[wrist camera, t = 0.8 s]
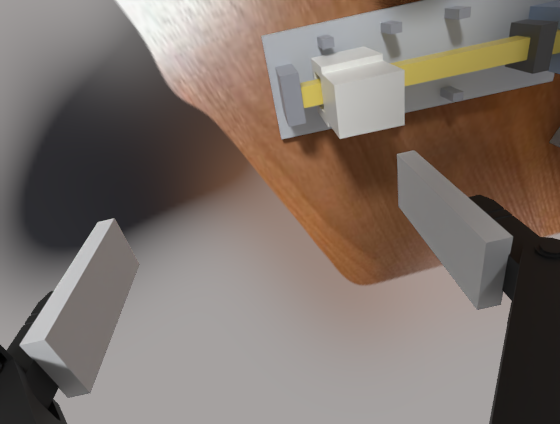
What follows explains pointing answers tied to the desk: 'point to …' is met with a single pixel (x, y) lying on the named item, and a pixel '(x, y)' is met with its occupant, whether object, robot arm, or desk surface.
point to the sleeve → (359, 91)
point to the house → (556, 138)
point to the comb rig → (421, 53)
